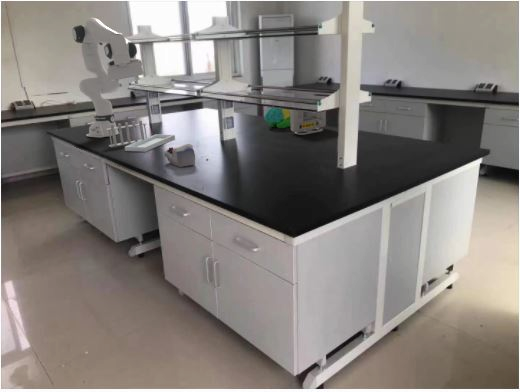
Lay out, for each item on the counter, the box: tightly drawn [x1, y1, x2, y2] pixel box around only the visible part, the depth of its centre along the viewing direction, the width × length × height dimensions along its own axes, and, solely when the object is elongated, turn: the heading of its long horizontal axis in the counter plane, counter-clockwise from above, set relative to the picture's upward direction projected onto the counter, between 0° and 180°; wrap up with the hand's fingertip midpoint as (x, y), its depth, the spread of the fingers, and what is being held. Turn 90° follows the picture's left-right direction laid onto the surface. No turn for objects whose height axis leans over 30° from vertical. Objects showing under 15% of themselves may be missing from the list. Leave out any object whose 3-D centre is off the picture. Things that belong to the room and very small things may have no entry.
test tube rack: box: [106, 119, 148, 148], centre depth 268 cm, size 25×4×13 cm, turn 123°
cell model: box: [163, 143, 196, 168], centre depth 216 cm, size 13×11×20 cm
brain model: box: [264, 107, 291, 129], centre depth 291 cm, size 24×19×15 cm
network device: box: [290, 110, 327, 136], centre depth 270 cm, size 26×9×20 cm, turn 122°
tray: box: [124, 133, 176, 153], centre depth 263 cm, size 14×33×2 cm, turn 160°
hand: (128, 85), depth 251 cm, fingers open, 8 cm apart
